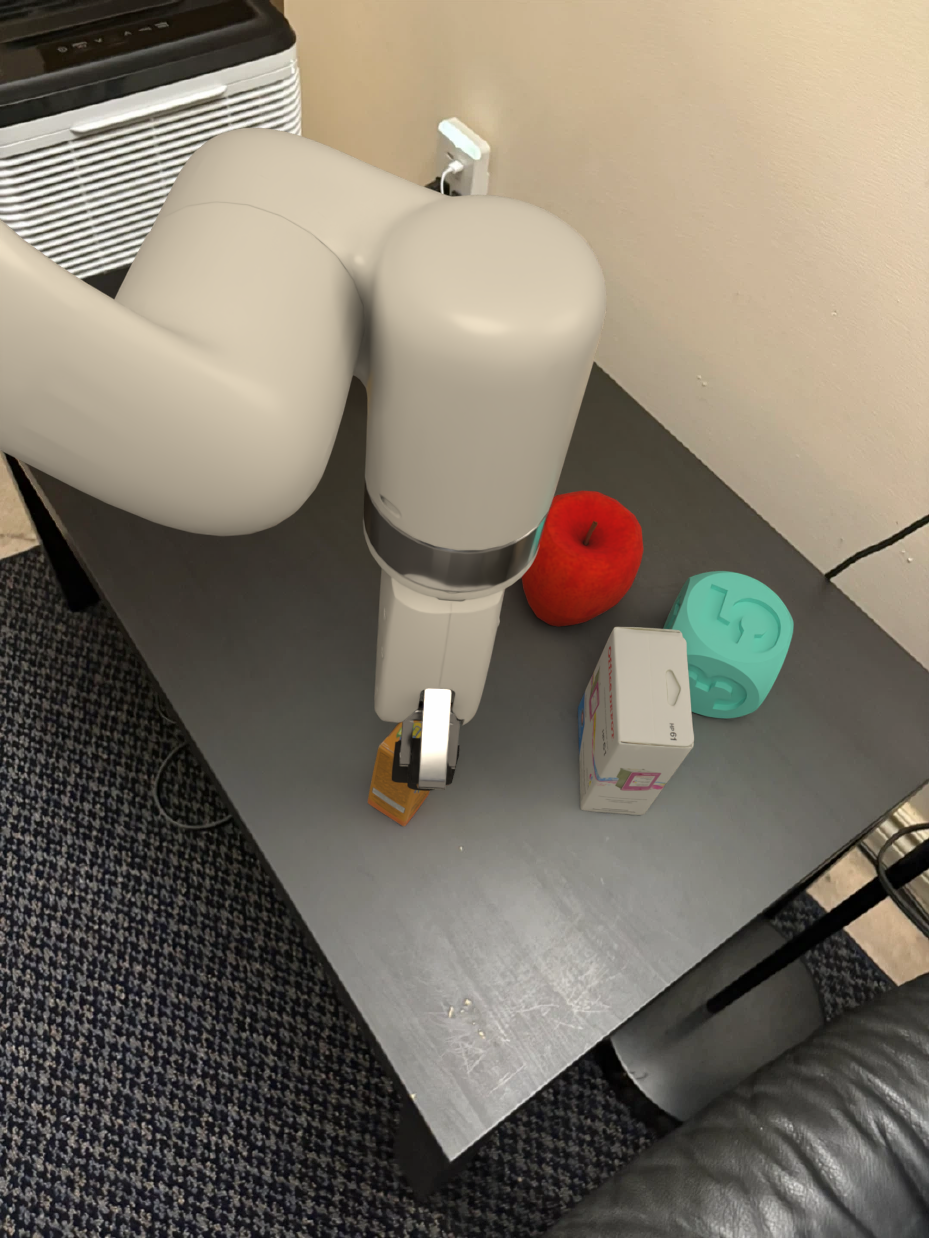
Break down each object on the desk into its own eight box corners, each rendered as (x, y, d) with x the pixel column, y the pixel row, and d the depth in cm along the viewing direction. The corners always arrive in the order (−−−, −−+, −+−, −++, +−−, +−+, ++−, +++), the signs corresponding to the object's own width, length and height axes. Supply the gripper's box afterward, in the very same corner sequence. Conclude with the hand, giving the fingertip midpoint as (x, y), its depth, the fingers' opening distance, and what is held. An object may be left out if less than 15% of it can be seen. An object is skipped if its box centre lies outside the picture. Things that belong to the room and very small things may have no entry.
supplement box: (407, 832, 66) (419, 774, 57) (366, 803, 67) (372, 743, 58) (434, 794, 68) (450, 733, 59) (394, 767, 68) (404, 703, 60)
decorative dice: (667, 612, 78) (700, 554, 72) (761, 650, 77) (803, 596, 71) (639, 691, 74) (670, 637, 67) (738, 732, 73) (780, 683, 66)
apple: (567, 674, 74) (601, 597, 65) (483, 604, 76) (505, 520, 67) (636, 608, 78) (677, 526, 69) (554, 543, 81) (583, 455, 71)
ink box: (573, 703, 73) (612, 621, 63) (638, 709, 73) (688, 628, 63) (576, 812, 68) (619, 741, 58) (646, 817, 69) (700, 748, 59)
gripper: (376, 348, 44) (367, 565, 58) (347, 685, 35) (344, 844, 49) (540, 363, 45) (490, 574, 59) (554, 698, 35) (491, 851, 50)
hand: (424, 697), depth 54 cm, fingers open, 9 cm apart
